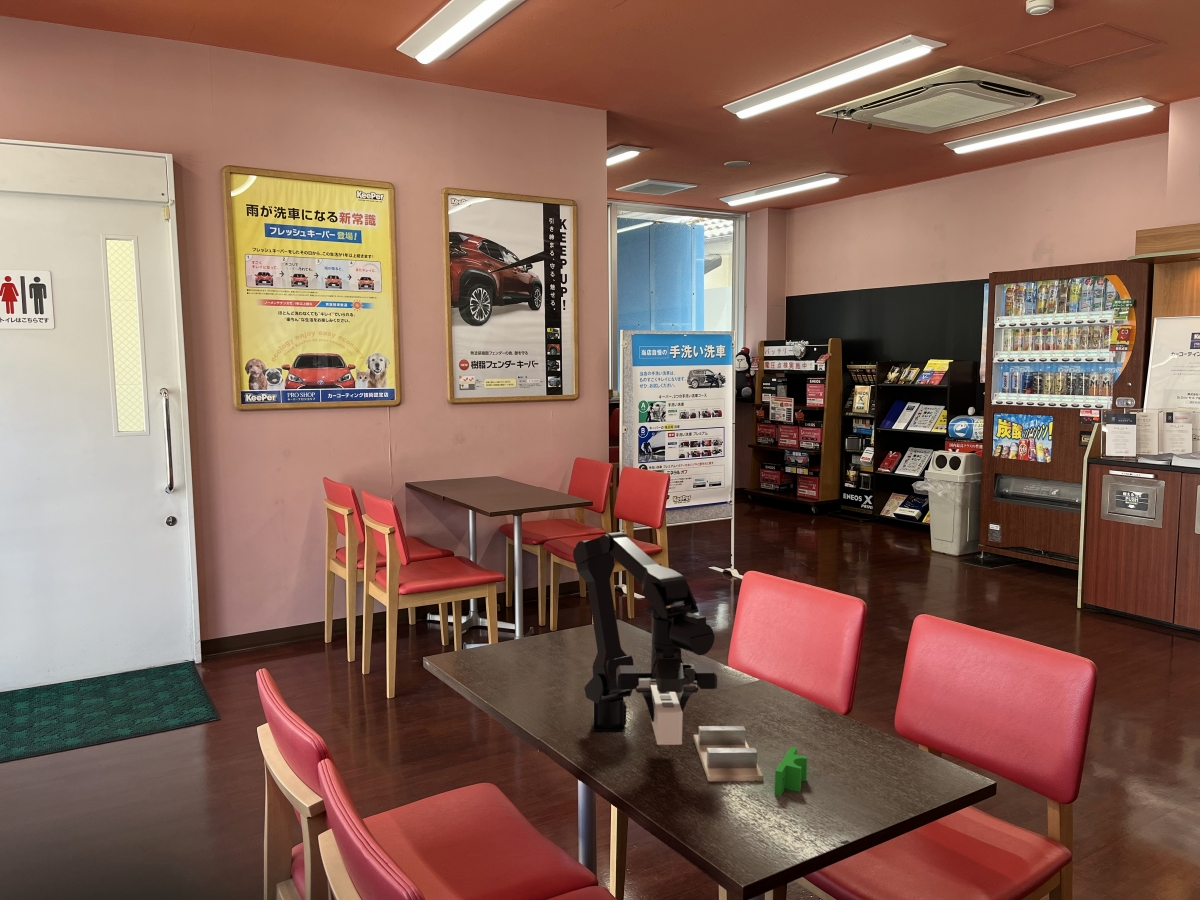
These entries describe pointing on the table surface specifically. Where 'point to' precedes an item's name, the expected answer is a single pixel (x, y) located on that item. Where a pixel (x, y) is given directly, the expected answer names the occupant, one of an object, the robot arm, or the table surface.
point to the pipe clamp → (790, 772)
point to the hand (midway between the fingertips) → (665, 720)
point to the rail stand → (727, 754)
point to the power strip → (667, 717)
